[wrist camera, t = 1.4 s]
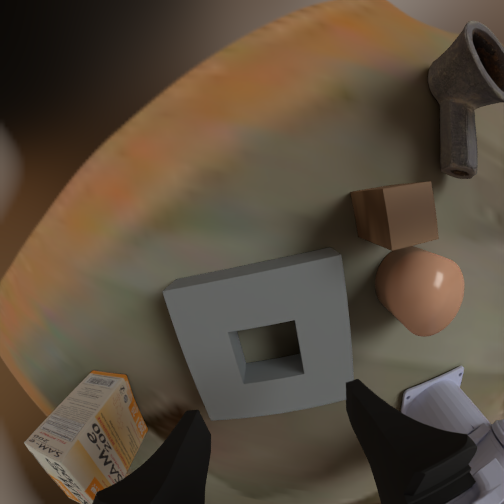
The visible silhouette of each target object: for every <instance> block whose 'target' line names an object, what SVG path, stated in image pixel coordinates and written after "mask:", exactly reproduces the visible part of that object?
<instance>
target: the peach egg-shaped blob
mask: <svg viewBox="0 0 504 504" xmlns="http://www.w3.org/2000/svg"><path fill="white" fill-rule="evenodd" d="M375 290H376V294H377V297H378V299H379V301H380V302H381V303H382V305H383V306H384V307H385V308H387V309H388V310H389V311H390V312H391V313H392V314H393V315H394V316H395V317H396V318H397V319H398V320H399V321H400V322H401V323H402V324H403V325H404V326H405V327H406V328H407V329H408V330H409V331H411V332H412V333H413V334H415V335H418V336H431V335H434V334H436V333H438V332H440V331H441V330H443V329H444V328H445V327H446V326H448V325H449V324H450V322H451V321H452V320H453V319H454V317H455V316H456V314H457V312H458V310H459V308H460V306H461V303H462V300H463V295H464V278H463V274H462V272H461V270H460V268H459V266H458V265H457V264H456V263H455V262H454V261H452V260H450V259H448V258H445V257H442V256H439V255H437V254H434V253H431V252H428V251H425V250H422V249H420V248H417V247H414V246H409V247H405V248H401V249H397V250H393V251H391V252H390V253H389V254H388V255H387V256H386V257H385V258H384V259H383V261H382V262H381V264H380V266H379V268H378V271H377V274H376V278H375Z"/></svg>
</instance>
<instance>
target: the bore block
mask: <svg viewBox="0 0 504 504" xmlns="http://www.w3.org/2000/svg"><path fill="white" fill-rule="evenodd" d="M162 292H163V295H164V298H165V301H166V304H167V308H168V311H169V314H170V317H171V320H172V323H173V326H174V329H175V332H176V334H177V337H178V340H179V343H180V346H181V348H182V351H183V354H184V356H185V359H186V362H187V364H188V367H189V369H190V372H191V374H192V377H193V379H194V382H195V384H196V387H197V389H198V392H199V394H200V396H201V399H202V401H203V403H204V406H205V408H206V410H207V412H208V415H209V417H210V419H211V420H226V419H238V418H248V417H257V416H265V415H272V414H279V413H285V412H291V411H296V410H302V409H307V408H312V407H317V406H321V405H326V404H330V403H334V402H338V401H342V400H346V382H349V381H353V380H354V376H353V358H352V344H351V331H350V321H349V311H348V302H347V293H346V285H345V278H344V270H343V264H342V257H341V254H339V253H338V252H337V251H335V250H334V249H332V248H331V247H329V248H324V249H320V250H315V251H311V252H306V253H301V254H296V255H292V256H287V257H282V258H278V259H273V260H268V261H263V262H259V263H254V264H249V265H244V266H239V267H234V268H230V269H225V270H220V271H215V272H210V273H205V274H200V275H195V276H190V277H185V278H180V279H176V280H174V281H173V282H172V283H171V284H170V285H169V286H168V287H167V288H165V289H164V290H163V291H162ZM293 320H294V322H295V327H296V333H297V338H298V344H299V349H300V354H296V355H291V356H286V357H281V358H276V359H270V360H264V361H258V362H252V363H246V361H245V358H244V354H243V351H242V347H241V344H240V340H239V336H238V333H237V331H239V330H245V329H251V328H257V327H262V326H267V325H273V324H278V323H283V322H288V321H293Z"/></svg>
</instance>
